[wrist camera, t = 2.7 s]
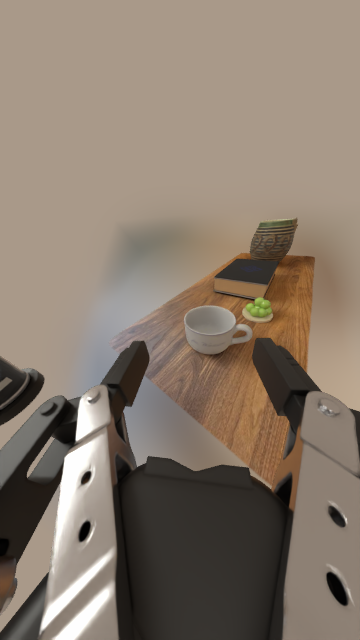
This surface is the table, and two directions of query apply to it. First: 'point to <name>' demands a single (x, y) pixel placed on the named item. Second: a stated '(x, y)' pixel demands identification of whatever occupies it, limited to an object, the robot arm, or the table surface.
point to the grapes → (258, 311)
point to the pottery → (273, 239)
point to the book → (246, 278)
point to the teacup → (213, 329)
